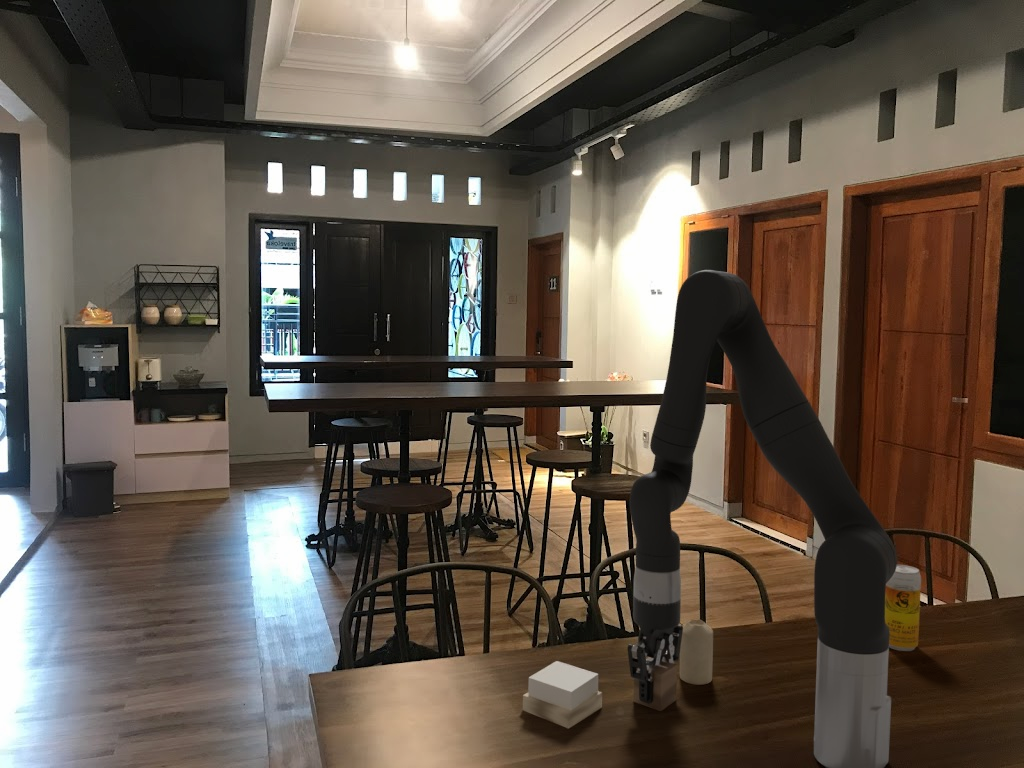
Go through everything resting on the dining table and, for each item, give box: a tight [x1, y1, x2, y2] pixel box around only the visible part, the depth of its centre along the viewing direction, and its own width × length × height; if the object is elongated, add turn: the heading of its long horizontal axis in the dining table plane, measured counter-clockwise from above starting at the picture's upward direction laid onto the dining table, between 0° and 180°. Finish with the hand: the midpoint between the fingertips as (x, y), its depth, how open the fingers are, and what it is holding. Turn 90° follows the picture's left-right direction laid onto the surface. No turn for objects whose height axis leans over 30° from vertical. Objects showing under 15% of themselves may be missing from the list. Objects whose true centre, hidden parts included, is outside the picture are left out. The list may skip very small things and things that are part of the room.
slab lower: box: [522, 690, 603, 730], centre depth 133 cm, size 9×9×3 cm
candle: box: [679, 618, 714, 686], centre depth 143 cm, size 6×6×10 cm
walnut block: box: [633, 657, 678, 712], centre depth 135 cm, size 5×5×6 cm
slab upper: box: [527, 660, 599, 711], centre depth 132 cm, size 8×8×3 cm
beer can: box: [885, 564, 922, 652], centre depth 157 cm, size 6×6×15 cm
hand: (655, 695), depth 135 cm, fingers closed on walnut block, 5 cm apart
